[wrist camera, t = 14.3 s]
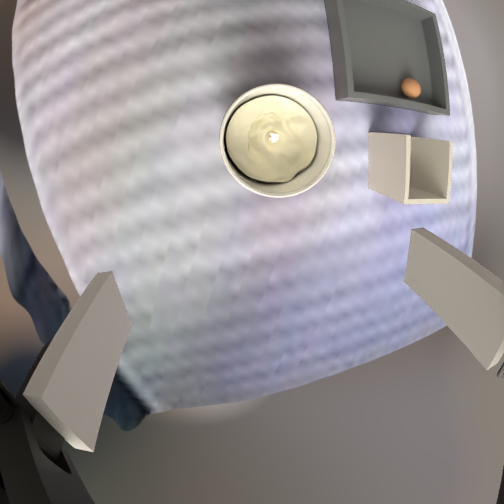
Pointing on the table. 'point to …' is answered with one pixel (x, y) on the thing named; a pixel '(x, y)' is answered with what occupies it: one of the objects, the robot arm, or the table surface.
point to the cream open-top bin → (410, 168)
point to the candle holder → (277, 140)
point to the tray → (387, 54)
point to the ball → (410, 88)
